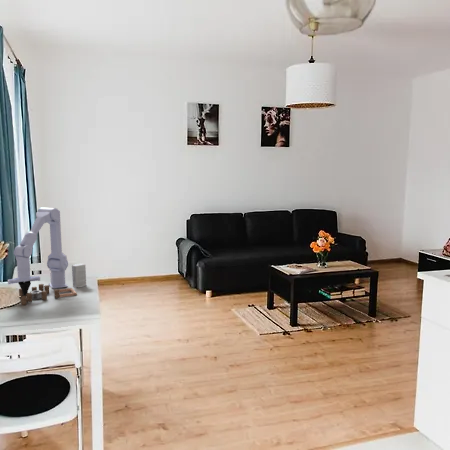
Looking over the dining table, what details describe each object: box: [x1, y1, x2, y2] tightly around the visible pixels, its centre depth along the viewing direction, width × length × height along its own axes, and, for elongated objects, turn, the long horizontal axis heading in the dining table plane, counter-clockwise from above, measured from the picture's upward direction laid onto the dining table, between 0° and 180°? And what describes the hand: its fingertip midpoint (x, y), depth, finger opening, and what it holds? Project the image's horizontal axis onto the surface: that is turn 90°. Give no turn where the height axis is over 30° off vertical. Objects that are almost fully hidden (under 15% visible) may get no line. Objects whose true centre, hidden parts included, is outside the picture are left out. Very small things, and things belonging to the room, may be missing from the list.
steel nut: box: [29, 289, 42, 300], centre depth 237 cm, size 6×5×3 cm
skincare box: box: [71, 262, 87, 289], centre depth 258 cm, size 6×4×12 cm
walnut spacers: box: [18, 283, 61, 306], centre depth 238 cm, size 20×18×4 cm
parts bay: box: [58, 287, 78, 298], centre depth 245 cm, size 10×9×1 cm
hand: (25, 296), depth 235 cm, fingers closed
